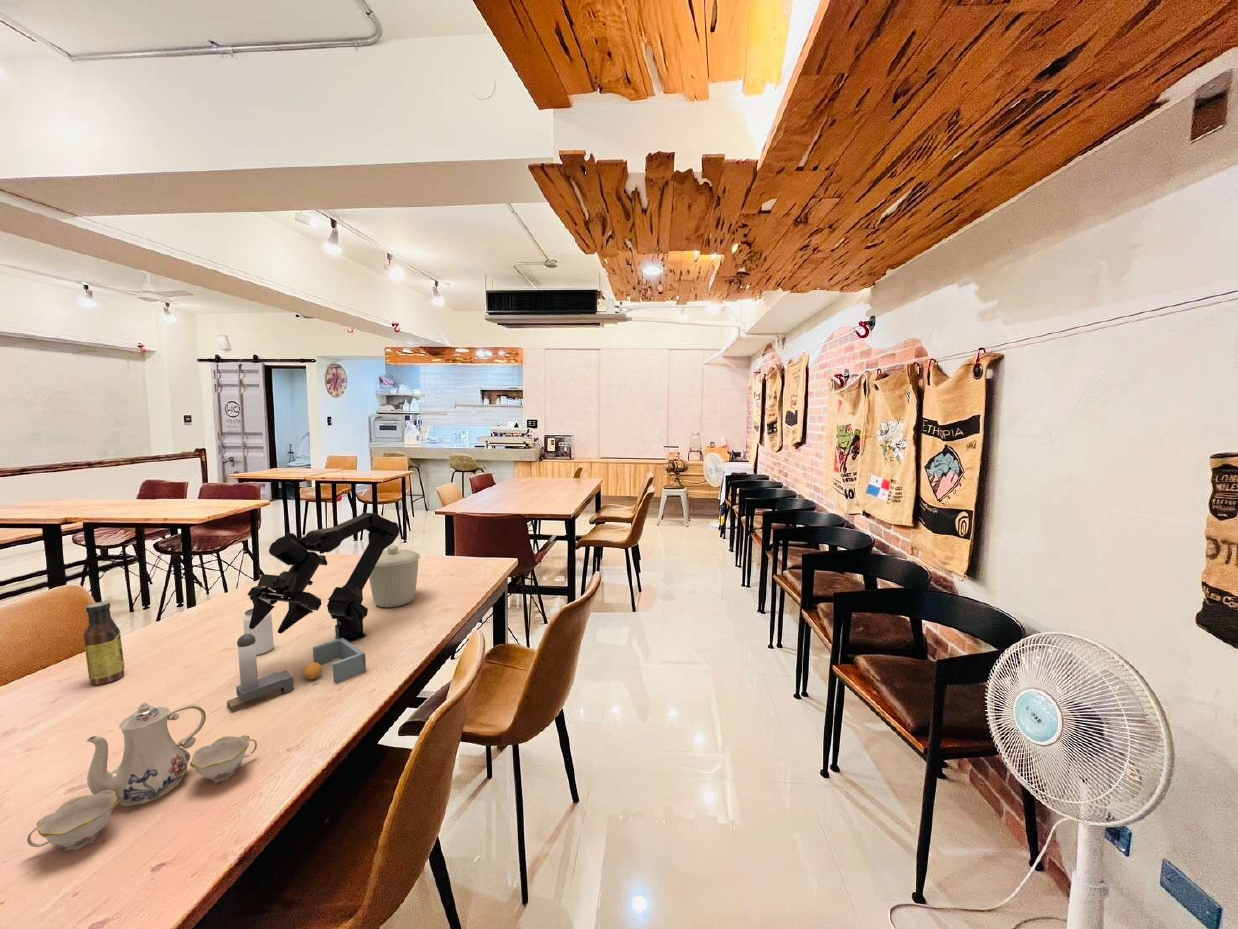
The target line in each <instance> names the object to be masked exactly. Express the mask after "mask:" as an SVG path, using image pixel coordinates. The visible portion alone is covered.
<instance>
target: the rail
mask: <svg viewBox="0 0 1238 929" xmlns="http://www.w3.org/2000/svg"><path fill="white" fill-rule="evenodd" d="M282 694H283V691H282V688H281V689H278V690H275V691H273V692H270V693H267V694H265V695H262V696H259V697H256V698H254V699H251V700H248V701H246V702H242V701H241V700H240V698H239V697H238V696H236V697H233V698H231V699H228V700H226V707H227V708H228V710H229V711H230V713H234V712H237V711H240V710H242V709H245V708H248V707H250V706H252V705H254V704H255V705H256V704H258V703H261V702H263V701H266V700H269V699H271V698H273V697H276V696H279V695H282Z"/></svg>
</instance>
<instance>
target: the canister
mask: <svg viewBox="0 0 1238 929" xmlns="http://www.w3.org/2000/svg"><path fill="white" fill-rule="evenodd" d="M420 558H421V554H420V553H418V552H416V551H414V550H411V549H399V547H398V545H395V544H394V545H392V544H391V545H389V546H388V547H387V549H386V550H383V552H382V554H381V556H380V558H379V560H378V562H377V563H376V565H375V567H374V569H373V571H372V573H371V575H370V577H369V578H368V580H369V584H370V589H371V595H372V598H373V602H374V603H375V604H376V606H378V607H380V608H396V607H402V606H404V605H407V604H409V603H410V602H412V601H413V599H414V598H415V596H416V591H417V582H418V570H419V559H420Z"/></svg>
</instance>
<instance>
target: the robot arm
mask: <svg viewBox="0 0 1238 929" xmlns="http://www.w3.org/2000/svg"><path fill="white" fill-rule="evenodd" d="M400 530H401V529H400V526H399V524H398V523H397V522H394V521H392V520H390V519H387V518H385V517H382V516H381V515H379V514H377V513H376V512H362V513H361V514H359V515H357V516H356V517H353V518H351V519H348V520H346V521H344V522H342V523H340V524H337V525H335V526H332V527H325V528H319V529H314V530H311V531H309V532H307V533H306V534H305V536H303V537H301V538H298V537H297V535H296V534H295V533H293V532H286V533H285V534H284V535H283V536H281V537H279V538H277V539H276V540H275V541H274V542H272V543H271V544H270V546H269V549H268V554H269V555H271V556H272V557H274V558H275V559H277V560H279V561H280V562H282V563H283V564H285V565H287V566H290V567H289V570H288V571H287V570H283V571H282V572H281V573H280V574H279V575H276V574H266V573H261V574H260V577H259V580H258V583H257V585H256V586H253V587H251V588H250V590H249V591H248V593H247V596H248V597H249V600H251V602H252V604H253V608H252V609H253V613H252V617H251V621H250V625H249V628H250V629H254V628H255V627H256V626H257V625H258V624H259V623H260V622H261V621H262V620H263V619H264V618H265V617H266V615H267V614H268V613H269V612H271V611H272V610H274V608H275V606H274V604H276V603H278V602H286V603H288V610H287V613H286V614H285V616H284V618H283V619H282V622H281V623H280V625H279V627H278V629H277V633H278V634H283V633H285V632H286V631H287V630H288V629H290V628H291V627H292V626H294V624H296V623H297V622H299V621H300V620H302V619H303V618H304V617H306V616H308V615H309V614H313V612H314V611H319V609H320V608H321V606H322V599H321V598H320V597H318V596H317V595H315V594H313V593H311V592H308V591H305V589H306V588H307V586H312V585H313V583H314V582H313V581H312V580H311V579H312V578H313V577H314V575H315V573H316V571H317V569H318V568H319V566H328V561H327V559H326V555H323V554H318V553H330V552H332V551H334V550H335V549H336V548H338V547H339V546H341V544H342V542H343V541H344V540H346V539H347V538H349V537H352V536H354V535H356V534H358V533H361V532H362V531H367V532H368V534H367V539H368V544H367V546H366V548H365V550H364V551H363V553H362V555H361V557H360V558H359V560H358V562H357V564H356V565H355V567H354V568H353V571H352V573H351V574H350V576H349V578H348V580H347V581H346V583H345V584H344V585H343V586H342V587H341V586H336V587H335V588H334V589H333V591H332V594H331V595H330V596H329V597H328V598H327V600H328V601H327V604H326V608H327V611H328V614H329V615H330V617H331V619H332V620H336V624H335V625H334V628H335V629H334V630H335V639H339V638H344V639H345V640H346V641H348V642H349V643H351V642H353V641H355V640H358V638H359V639H361V638H363V637H366V636H367V634H366V633H365V632H364V619H365V618H366V617H367V616H368V612H369V608H367V607H366V606H365V605H363V604H362V603H363V601H364V596H363V589H364V587H366V584H367V582H368V580H369V577H370V575H371V573H372V571H373V569H374V567H375V565H376V563H377V562H378V560H379V558H380V556H381V554H382V552H384V551H385V549H386V548H388V547H389V546H391V545H392V544H393V543H394V542H395V541H396V539H397V538H398V536H399V535H400ZM316 552H317V553H316Z"/></svg>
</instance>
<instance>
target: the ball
mask: <svg viewBox="0 0 1238 929" xmlns="http://www.w3.org/2000/svg"><path fill="white" fill-rule="evenodd" d="M302 671H303V672H302V674H303V677H304V678H305V679H307V680H314V679H317V678H318V677H319V676H320V675H321V673H322V671H323V667H322V664H321V665H320V664H319V663H316V662H310V663H308V664H307V665H306V666H304V668H303V670H302Z"/></svg>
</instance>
